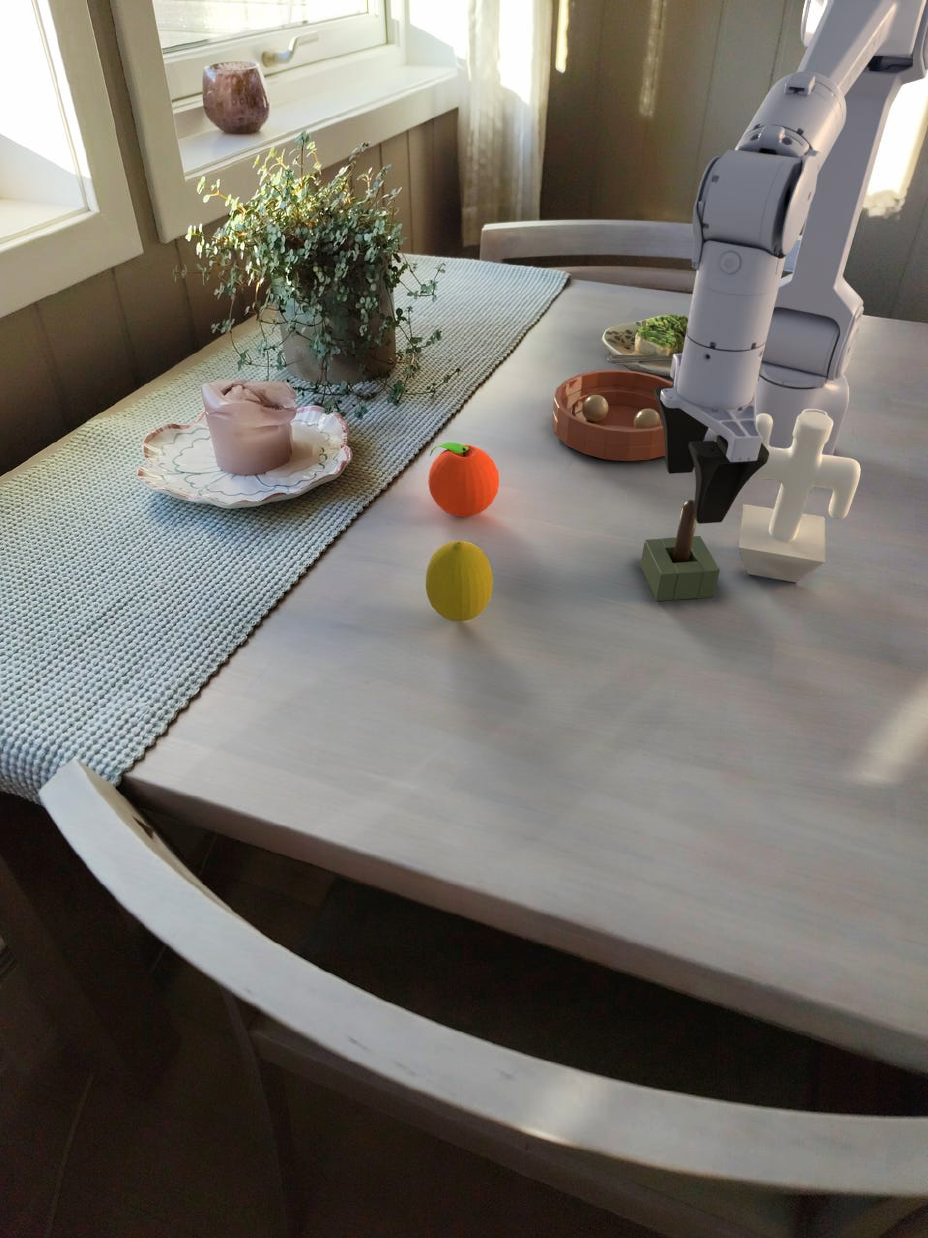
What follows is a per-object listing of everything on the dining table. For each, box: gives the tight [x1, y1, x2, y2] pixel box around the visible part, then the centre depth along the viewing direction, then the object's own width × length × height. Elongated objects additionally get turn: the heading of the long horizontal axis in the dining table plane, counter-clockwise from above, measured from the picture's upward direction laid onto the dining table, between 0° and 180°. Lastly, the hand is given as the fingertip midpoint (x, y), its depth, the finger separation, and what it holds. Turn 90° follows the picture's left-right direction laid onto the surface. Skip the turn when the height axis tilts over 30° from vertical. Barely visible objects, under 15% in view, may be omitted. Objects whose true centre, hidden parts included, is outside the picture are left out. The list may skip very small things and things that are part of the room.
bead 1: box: [582, 395, 608, 422], centre depth 99 cm, size 3×3×3 cm
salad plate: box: [600, 314, 689, 378], centre depth 113 cm, size 19×18×5 cm
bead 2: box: [634, 409, 661, 429], centre depth 97 cm, size 3×3×3 cm
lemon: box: [425, 540, 494, 622], centre depth 71 cm, size 6×6×8 cm
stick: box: [672, 499, 698, 563], centre depth 75 cm, size 1×1×8 cm
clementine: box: [427, 442, 500, 518], centre depth 85 cm, size 8×7×7 cm
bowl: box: [551, 369, 674, 462], centre depth 98 cm, size 15×15×4 cm
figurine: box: [738, 409, 861, 584], centre depth 75 cm, size 7×9×15 cm
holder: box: [640, 535, 721, 602], centre depth 77 cm, size 5×5×3 cm
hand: (693, 494), depth 72 cm, fingers open, 7 cm apart
